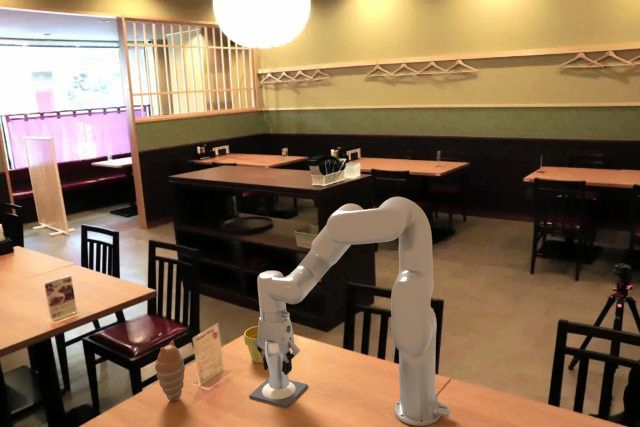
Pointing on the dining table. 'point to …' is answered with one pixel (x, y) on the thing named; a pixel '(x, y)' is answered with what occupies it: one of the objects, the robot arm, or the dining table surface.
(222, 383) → the dining table surface
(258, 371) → the dining table surface
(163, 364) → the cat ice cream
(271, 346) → the beer glass
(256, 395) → the mat
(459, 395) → the dining table surface
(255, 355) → the plant pot
